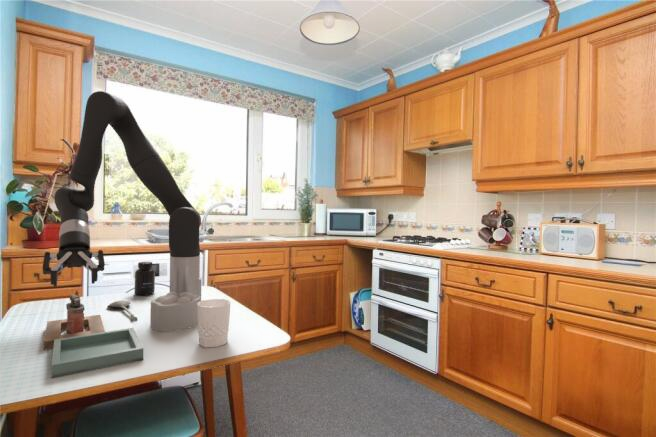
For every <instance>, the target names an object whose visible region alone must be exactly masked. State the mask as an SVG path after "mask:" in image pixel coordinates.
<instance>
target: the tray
mask: <svg viewBox="0 0 656 437" xmlns="http://www.w3.org/2000/svg"><path fill="white" fill-rule="evenodd" d="M139 338H140V337H139V336H138V335H137V333H136V331H135V329H134V327H129V328H121V329H116V330H115V329H114V330H108V331H105V332H101V333H95V334H88V335H82V336H75V337H68V338H62V339H55V340H54V348H53V349H52V357H51V358H52V359H51V378H52V379H53V378H59V377H64V376H68V375H73V374H80V373H83V372H88V371H94V370H98V369H103V368H108V367H113V366H118V365H124V364H127V363H132V362H133V363H134V362H139V361H143V360H144V350H145V348H144V346H143V344H142V342H141V341H140V339H139Z"/></svg>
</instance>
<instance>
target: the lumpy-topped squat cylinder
mask: <svg viewBox="0 0 656 437" xmlns="http://www.w3.org/2000/svg"><path fill="white" fill-rule="evenodd" d="M200 301H202V296H201V297H200V296H197V295H195V294H191V293H188V292H183V293H180V294H179V295H178V294H177V293H174V292H170V291H169V292H168V293H167V294H164V295H160V296H158V297H156V298H154V299H152V300H151V301H150V328H151V329H154V330H156V331H157V332H158V333H166V334H167V333H173V332H177V331H182V330H186V329H190V328H193V327H196V326H198V316H197V303H198V302H200Z"/></svg>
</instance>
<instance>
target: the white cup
mask: <svg viewBox="0 0 656 437" xmlns="http://www.w3.org/2000/svg"><path fill="white" fill-rule="evenodd" d="M230 313H231V300H228V299H224V298H210V299H204V300H201V301H200V302H198V303H197V316H198V325H197V333H198V344H199V346H200V347H204V348H217V347H222V346H224V345H225V344H227V343H228V340H229V339H228V337H229V336H228V334H229V330H230V329H229V328H230V327H229V325H230V316H231V314H230Z"/></svg>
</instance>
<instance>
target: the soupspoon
mask: <svg viewBox="0 0 656 437" xmlns="http://www.w3.org/2000/svg"><path fill="white" fill-rule="evenodd" d="M130 305H131V302H130V301H127V300H116V301H113V302H111V303H109V304H108V305H107V308H110V307H114V308H115V307H116V308H121V309H123V310H125V312H127V314H128V315H129V316H130V321H131V322H137V321H138V317H137V316H135V314H134V313H132V311H130V310H129V309H128V307H127V306H130Z"/></svg>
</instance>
